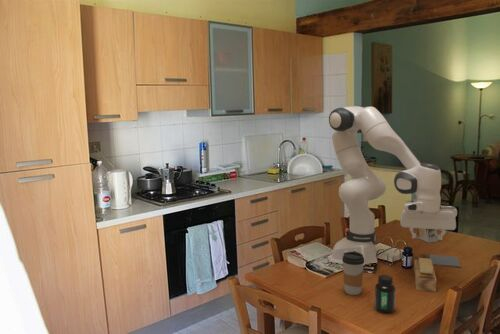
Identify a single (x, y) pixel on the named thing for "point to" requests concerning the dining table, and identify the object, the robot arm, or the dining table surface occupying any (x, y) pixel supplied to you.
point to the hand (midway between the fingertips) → (426, 239)
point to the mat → (444, 260)
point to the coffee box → (427, 234)
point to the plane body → (424, 278)
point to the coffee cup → (353, 272)
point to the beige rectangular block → (425, 267)
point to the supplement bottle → (385, 294)
